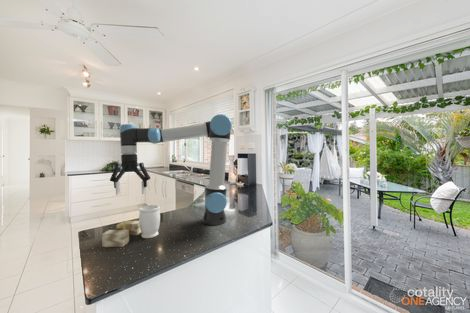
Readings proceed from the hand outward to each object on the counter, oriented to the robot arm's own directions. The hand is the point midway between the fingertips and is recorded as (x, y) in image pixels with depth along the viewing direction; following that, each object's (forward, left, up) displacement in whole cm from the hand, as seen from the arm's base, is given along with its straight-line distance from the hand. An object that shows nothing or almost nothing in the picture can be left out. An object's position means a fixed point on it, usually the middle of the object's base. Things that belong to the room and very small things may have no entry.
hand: (131, 193), depth 108 cm
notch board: (+2, +4, -22) cm, 23 cm away
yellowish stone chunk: (+2, +4, -22) cm, 23 cm away
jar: (-10, 0, -22) cm, 24 cm away
